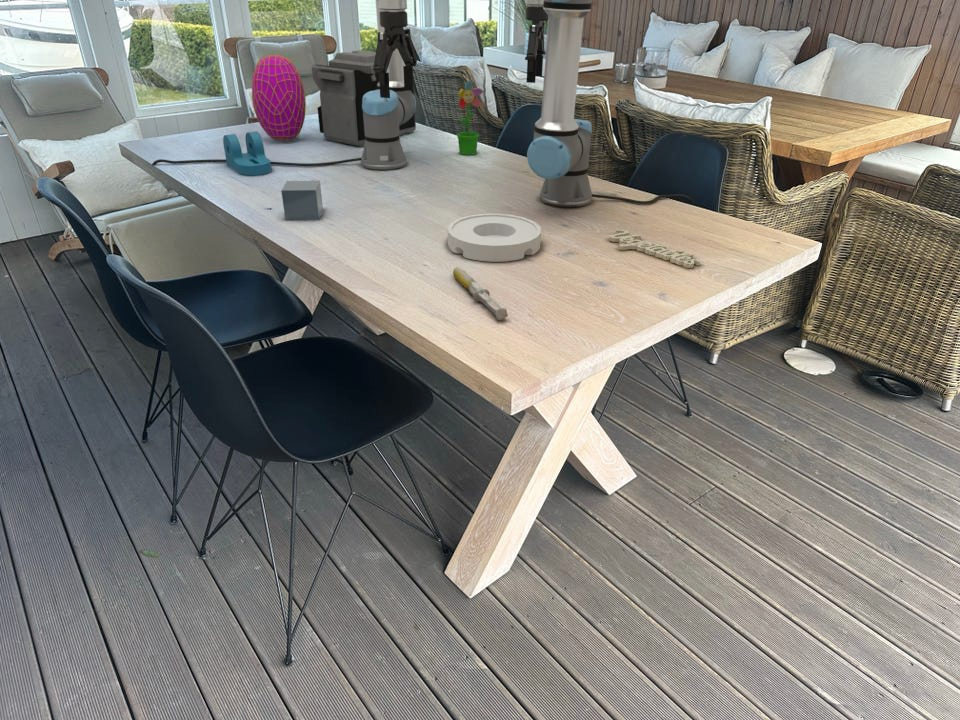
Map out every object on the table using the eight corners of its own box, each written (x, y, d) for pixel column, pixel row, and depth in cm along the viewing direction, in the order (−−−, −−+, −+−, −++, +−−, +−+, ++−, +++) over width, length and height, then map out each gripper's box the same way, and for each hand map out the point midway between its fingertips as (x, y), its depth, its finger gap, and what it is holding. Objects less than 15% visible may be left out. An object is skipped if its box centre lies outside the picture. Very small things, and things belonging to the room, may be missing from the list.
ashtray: (450, 227, 182) (450, 212, 180) (538, 229, 181) (539, 214, 179) (444, 260, 162) (444, 244, 160) (542, 262, 161) (543, 246, 159)
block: (323, 209, 194) (319, 180, 190) (319, 219, 186) (315, 190, 182) (290, 209, 193) (286, 180, 189) (285, 220, 186) (281, 190, 181)
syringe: (449, 274, 155) (449, 263, 153) (465, 272, 156) (464, 260, 154) (490, 323, 135) (491, 310, 133) (508, 319, 136) (508, 307, 134)
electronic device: (380, 124, 291) (375, 47, 275) (420, 131, 280) (417, 51, 264) (314, 140, 265) (305, 55, 250) (356, 148, 254) (349, 60, 239)
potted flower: (461, 156, 246) (461, 82, 233) (452, 151, 252) (451, 78, 239) (485, 153, 249) (486, 80, 237) (475, 148, 255) (475, 77, 243)
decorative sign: (595, 237, 174) (620, 228, 179) (594, 240, 174) (619, 231, 180) (683, 268, 157) (708, 257, 162) (683, 272, 157) (707, 261, 163)
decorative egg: (293, 132, 276) (283, 50, 261) (319, 140, 264) (310, 56, 249) (249, 139, 265) (236, 54, 250) (273, 148, 253) (261, 60, 238)
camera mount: (227, 164, 233) (221, 132, 227) (257, 160, 238) (252, 129, 233) (244, 176, 220) (239, 143, 215) (276, 172, 225) (271, 139, 220)
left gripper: (543, 8, 201) (539, 85, 211) (555, 4, 222) (551, 74, 232) (518, 8, 202) (515, 84, 213) (532, 3, 223) (529, 73, 234)
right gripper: (403, 7, 196) (407, 86, 207) (356, 12, 176) (362, 99, 187) (427, 8, 193) (429, 88, 204) (381, 13, 174) (386, 102, 184)
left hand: (534, 79), depth 223 cm, fingers open, 13 cm apart
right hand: (397, 94), depth 196 cm, fingers open, 13 cm apart
